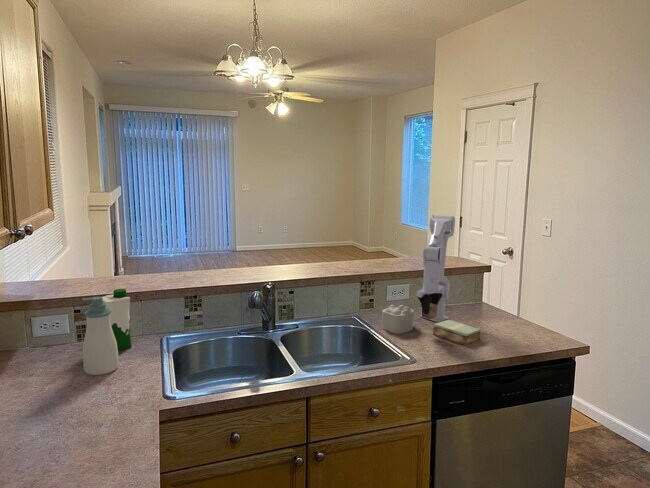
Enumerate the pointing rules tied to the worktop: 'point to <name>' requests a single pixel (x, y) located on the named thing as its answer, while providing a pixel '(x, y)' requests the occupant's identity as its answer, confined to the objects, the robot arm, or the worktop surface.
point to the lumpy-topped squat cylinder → (397, 319)
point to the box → (456, 336)
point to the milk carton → (119, 317)
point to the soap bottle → (99, 340)
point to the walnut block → (431, 311)
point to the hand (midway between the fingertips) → (429, 312)
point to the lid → (457, 327)
